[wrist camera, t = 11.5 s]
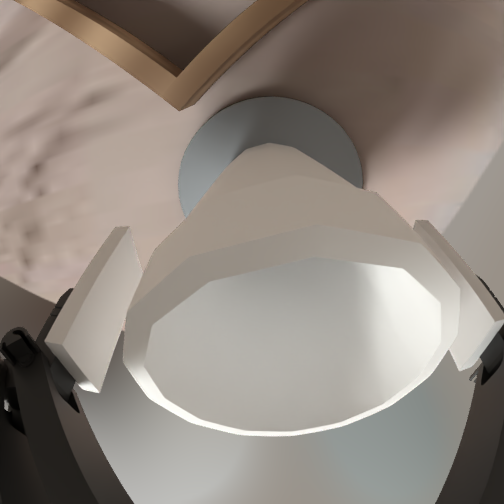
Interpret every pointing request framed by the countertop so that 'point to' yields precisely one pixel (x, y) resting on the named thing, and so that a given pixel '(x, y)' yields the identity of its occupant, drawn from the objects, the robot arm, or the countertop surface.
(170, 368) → the foam cup
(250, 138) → the rubber mat
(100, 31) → the frame
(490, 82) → the countertop surface
